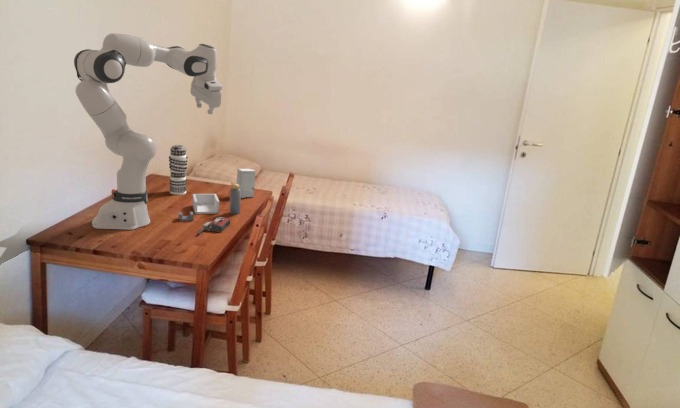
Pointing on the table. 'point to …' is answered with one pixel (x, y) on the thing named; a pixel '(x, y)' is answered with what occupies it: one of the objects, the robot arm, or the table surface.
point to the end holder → (205, 204)
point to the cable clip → (185, 217)
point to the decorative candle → (178, 170)
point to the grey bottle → (235, 199)
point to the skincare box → (246, 182)
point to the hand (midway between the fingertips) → (204, 110)
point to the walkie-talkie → (216, 225)
